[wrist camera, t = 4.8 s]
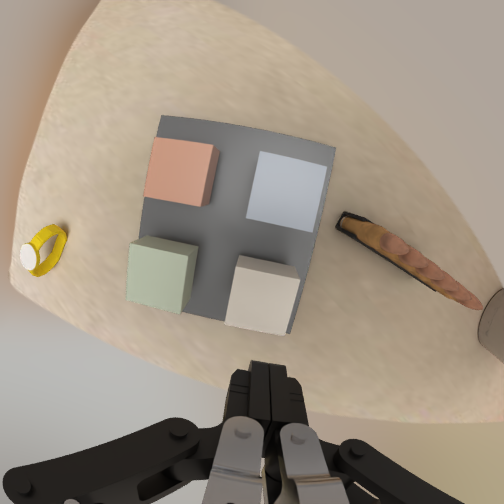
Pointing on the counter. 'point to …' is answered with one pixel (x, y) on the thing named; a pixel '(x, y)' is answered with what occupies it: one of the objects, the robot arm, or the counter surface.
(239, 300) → the cream key
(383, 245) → the ammunition clip
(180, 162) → the terracotta key
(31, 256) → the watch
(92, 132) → the counter surface
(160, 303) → the sage key
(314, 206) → the slate key
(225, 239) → the keypad board
